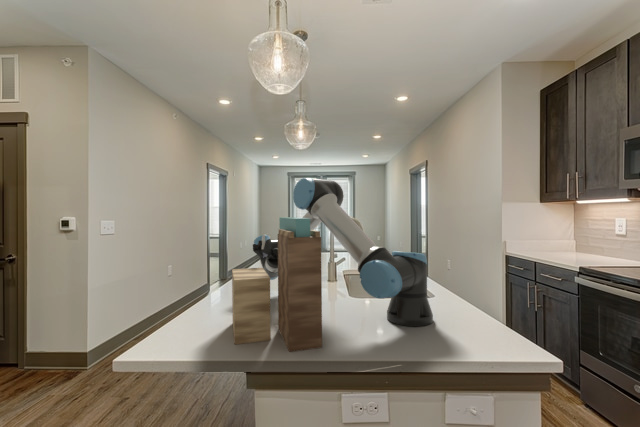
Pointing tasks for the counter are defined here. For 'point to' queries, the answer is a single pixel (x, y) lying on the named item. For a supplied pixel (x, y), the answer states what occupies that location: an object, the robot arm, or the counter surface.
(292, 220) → the bar
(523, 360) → the counter surface
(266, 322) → the wooden toy block
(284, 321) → the chute stand
